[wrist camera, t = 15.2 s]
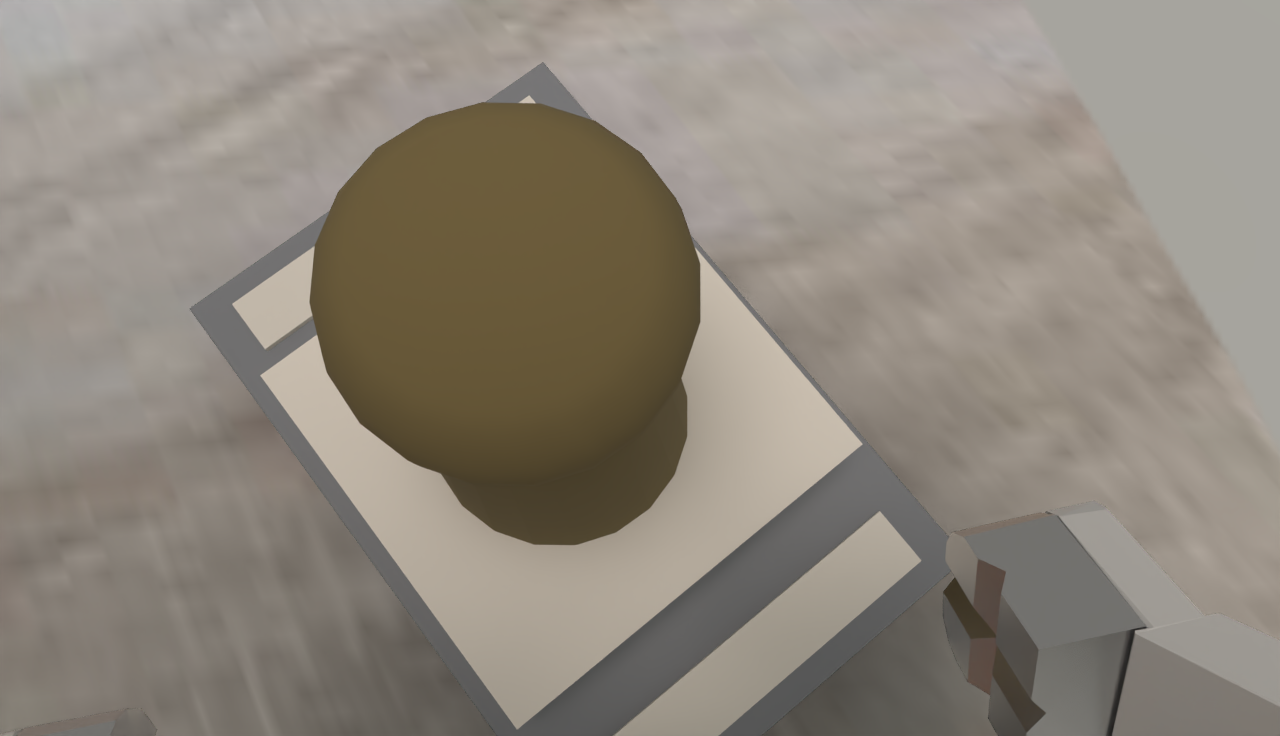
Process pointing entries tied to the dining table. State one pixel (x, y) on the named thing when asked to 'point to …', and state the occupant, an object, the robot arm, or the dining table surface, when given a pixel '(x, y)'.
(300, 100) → the dining table surface
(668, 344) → the cork
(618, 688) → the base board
